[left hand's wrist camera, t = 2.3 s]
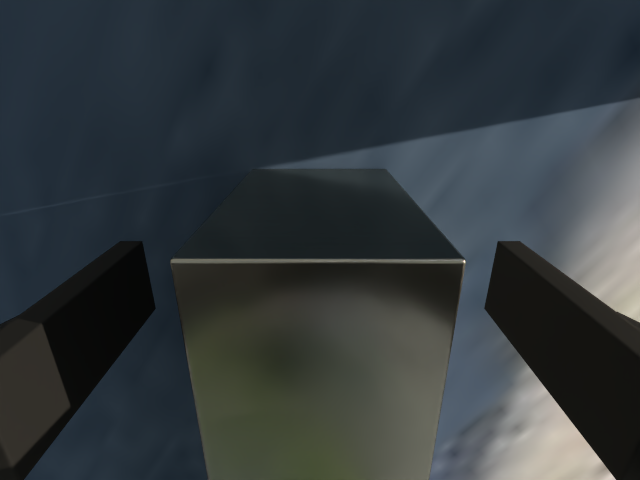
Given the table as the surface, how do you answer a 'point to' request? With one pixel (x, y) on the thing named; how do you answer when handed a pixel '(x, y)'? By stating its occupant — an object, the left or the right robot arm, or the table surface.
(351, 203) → the bar
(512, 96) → the table surface
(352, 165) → the table surface
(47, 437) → the left robot arm
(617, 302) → the table surface
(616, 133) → the table surface
